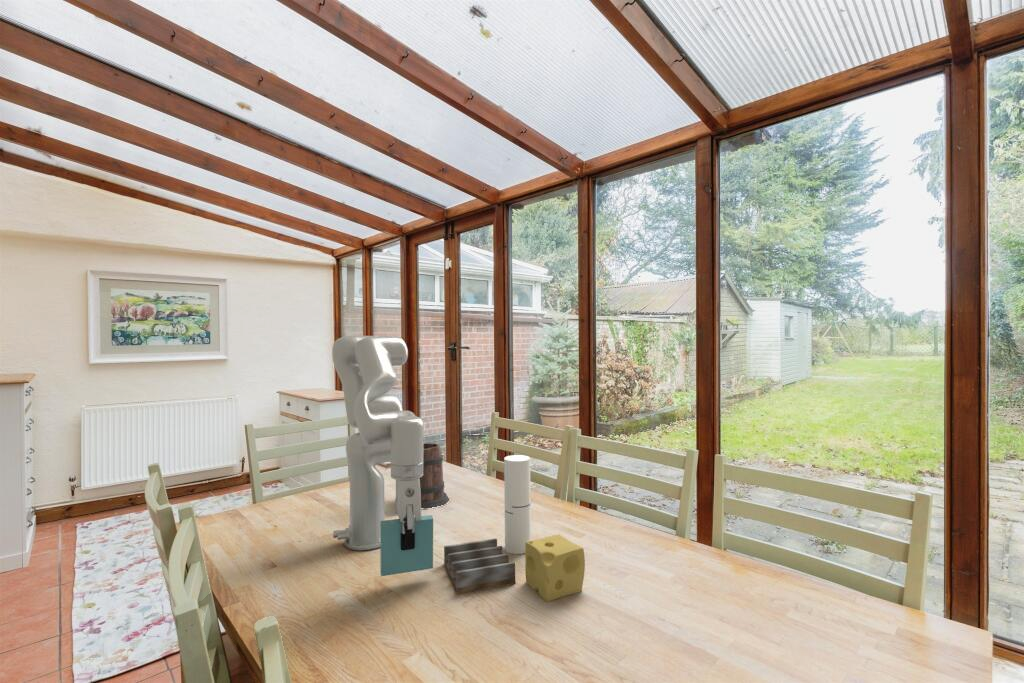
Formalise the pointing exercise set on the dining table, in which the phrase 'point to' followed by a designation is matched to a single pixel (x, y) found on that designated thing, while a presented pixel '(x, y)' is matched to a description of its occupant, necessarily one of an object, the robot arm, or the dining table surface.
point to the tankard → (432, 477)
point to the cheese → (554, 566)
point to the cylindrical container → (517, 503)
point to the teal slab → (406, 560)
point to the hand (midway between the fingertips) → (406, 545)
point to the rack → (478, 566)
